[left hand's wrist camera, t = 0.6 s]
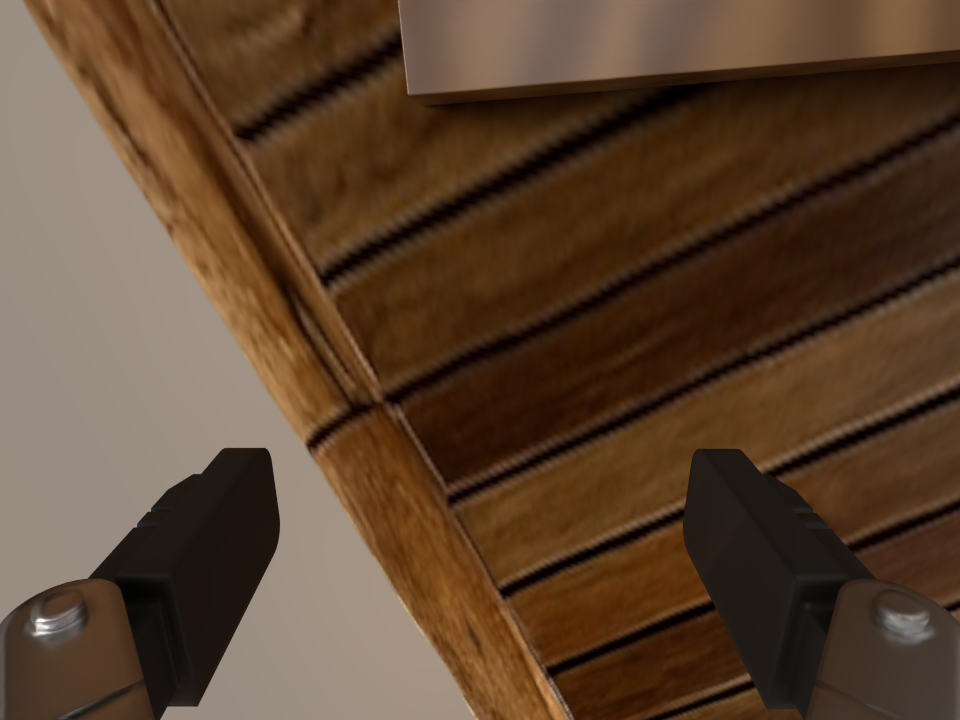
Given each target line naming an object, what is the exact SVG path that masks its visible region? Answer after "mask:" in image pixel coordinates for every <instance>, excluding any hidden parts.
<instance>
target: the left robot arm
mask: <svg viewBox="0 0 960 720" xmlns="http://www.w3.org/2000/svg"><path fill="white" fill-rule="evenodd" d="M279 532H280V518H279V510H278V503H277V496H276V489H275V481H274V474H273V467H272V460H271V456H270V453H269V451H268V450H267V449H266V448H224V449H222V450H221V451H220V452H219V454H218V455H217V456H216V457H215V458H214V460H213V461H212V462H211V463H210V464H209V465H208V467H207V468H206V469H205V470H204V471H203V473H202V474H193V475H191V476H190V477H188V478H186V479H185V480H183V481H181V482H180V483H178V484H177V485H175V486H173V487H172V488H170V489H168V490H167V491H166V493H164V495H163V496H162V497H161V498H160V499H159V500H158V501H157V502H156V504H155V505H154V506H153V507H152V508H151V512H147V513H146V515H145V516H144V517H143V518H142V519H141V520H140V521H139V522H138V524H137V528H133V529H132V530H131V531H130V532H129V533H128V534H127V536H126V537H125V538H124V539H123V540H122V541H121V542H120V543H119V545H118V546H117V547H116V548H115V549H114V550H113V551H112V552H111V553H110V554H109V556H108V557H107V558H106V559H105V560H104V561H103V562H102V563H101V564H100V566H99V567H98V568H97V569H96V570H95V571H94V572H93V573H92V574H91V575H90V577H89V578H88V579H82V580H76V581H72V582H67V583H64V584H61V585H58V586H55V587H52V588H50V589H47V590H45V591H43V592H41V593H39V594H37V595H35V596H33V597H32V598H30V599H28V600H27V601H25V602H24V603H22V604H21V605H19V606H18V607H17V608H15V609H14V610H13V611H12V612H11V613H10V614H9V615H8V616H7V617H6V618H5V619H4V620H3V621H2V622H1V624H0V720H160V719H161V717H162V715H163V713H164V712H165V710H166V708H167V706H198V705H199V703H200V701H201V699H202V697H203V695H204V693H205V691H206V689H207V687H208V685H209V683H210V681H211V679H212V677H213V675H214V673H215V671H216V669H217V667H218V665H219V663H220V661H221V659H222V657H223V655H224V653H225V651H226V649H227V647H228V645H229V643H230V641H231V639H232V637H233V635H234V633H235V631H236V629H237V627H238V625H239V623H240V621H241V619H242V617H243V615H244V613H245V611H246V609H247V607H248V605H249V603H250V601H251V599H252V597H253V595H254V593H255V591H256V589H257V587H258V585H259V583H260V581H261V579H262V577H263V575H264V573H265V571H266V569H267V567H268V565H269V563H270V561H271V559H272V557H273V555H274V553H275V551H276V548H277V544H278V540H279ZM683 533H684V540H685V545H686V549H687V552H688V554H689V556H690V558H691V560H692V562H693V564H694V566H695V568H696V570H697V572H698V574H699V576H700V578H701V580H702V582H703V584H704V586H705V588H706V590H707V592H708V594H709V595H710V597H711V599H712V601H713V603H714V605H715V607H716V609H717V611H718V613H719V615H720V617H721V619H722V621H723V623H724V625H725V627H726V629H727V631H728V633H729V635H730V637H731V639H732V641H733V643H734V645H735V647H736V649H737V651H738V653H739V655H740V656H741V658H742V660H743V662H744V664H745V666H746V668H747V670H748V672H749V674H750V676H751V678H752V680H753V682H754V684H755V686H756V688H757V690H758V692H759V694H760V696H761V698H762V700H763V702H764V704H765V706H766V708H767V709H798V710H799V712H800V714H801V716H802V718H803V719H804V720H960V624H959V622H958V621H957V620H956V619H955V618H954V617H953V616H952V615H951V614H950V613H949V612H948V611H947V610H946V609H945V608H943V607H942V606H941V605H939V604H938V603H936V602H935V601H933V600H932V599H930V598H928V597H927V596H925V595H923V594H921V593H919V592H917V591H915V590H913V589H910V588H908V587H905V586H902V585H899V584H896V583H893V582H889V581H884V580H878V579H876V578H875V577H874V576H873V575H872V574H871V573H870V572H869V571H868V569H867V568H866V567H865V566H864V565H863V564H862V563H861V562H860V561H859V560H858V558H857V557H856V556H855V555H854V554H853V553H852V552H851V551H850V550H849V549H848V547H847V546H846V545H845V544H844V543H843V542H842V541H841V540H840V539H839V538H838V536H837V535H836V534H835V533H834V532H833V531H832V530H831V529H827V524H826V523H825V522H824V521H823V520H822V519H821V518H820V517H819V516H818V514H817V513H813V509H812V508H811V507H810V506H809V505H808V504H807V502H806V501H805V500H804V499H803V498H802V497H801V496H800V495H799V494H798V493H797V491H795V490H794V489H792V488H790V487H789V486H787V485H785V484H784V483H782V482H781V481H779V480H777V479H776V478H774V477H772V476H771V475H762V474H761V473H760V471H759V470H758V469H757V468H756V467H755V466H754V464H753V463H752V462H751V461H750V460H749V459H748V457H747V456H746V455H745V454H744V453H743V452H742V451H741V450H739V449H697V450H696V451H695V453H694V455H693V458H692V463H691V469H690V476H689V484H688V491H687V498H686V505H685V512H684V519H683Z"/></svg>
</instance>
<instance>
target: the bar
mask: <svg viewBox="0 0 960 720" xmlns="http://www.w3.org/2000/svg"><path fill="white" fill-rule="evenodd" d="M397 2H398V11H399V20H400V30H401V39H402V48H403V58H404V67H405V76H406V86H407V94H408V96H409V97H411V98H412V99H414V100H415V101H416V102H418V103H419V104H421V105H422V106H431V105H443V104H455V103H467V102H479V101H491V100H503V99H515V98H528V97H540V96H552V95H564V94H576V93H588V92H600V91H612V90H625V89H637V88H649V87H661V86H673V85H685V84H697V83H709V82H722V81H734V80H746V79H758V78H770V77H782V76H794V75H806V74H819V73H831V72H843V71H855V70H867V69H879V68H891V67H904V66H916V65H928V64H940V63H952V62H960V0H397Z"/></svg>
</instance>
